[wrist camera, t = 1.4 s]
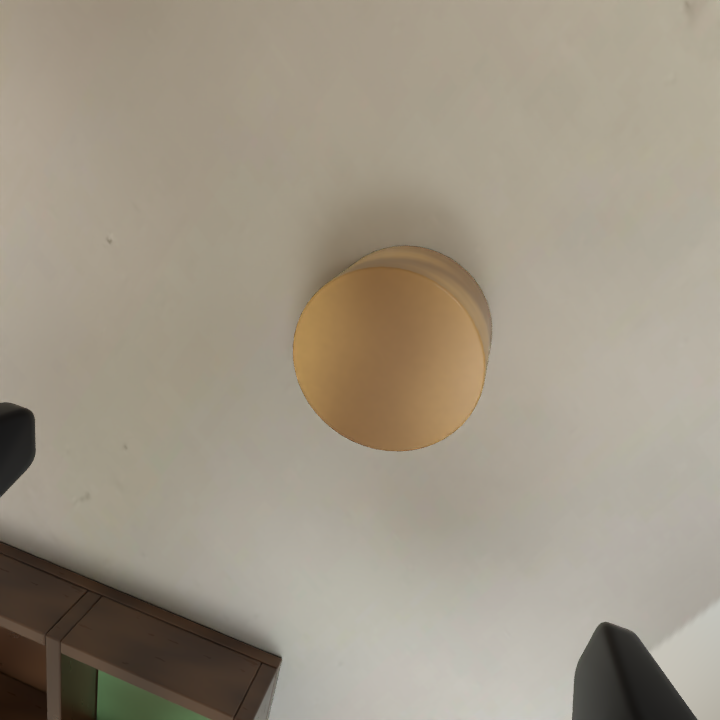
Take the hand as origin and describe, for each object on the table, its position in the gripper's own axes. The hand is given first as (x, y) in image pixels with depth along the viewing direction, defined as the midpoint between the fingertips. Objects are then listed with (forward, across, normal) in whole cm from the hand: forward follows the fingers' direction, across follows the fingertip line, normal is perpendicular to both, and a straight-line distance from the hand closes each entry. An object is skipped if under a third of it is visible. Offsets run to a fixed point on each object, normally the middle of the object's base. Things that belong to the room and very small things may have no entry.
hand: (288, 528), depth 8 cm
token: (+10, 0, 0) cm, 10 cm away
